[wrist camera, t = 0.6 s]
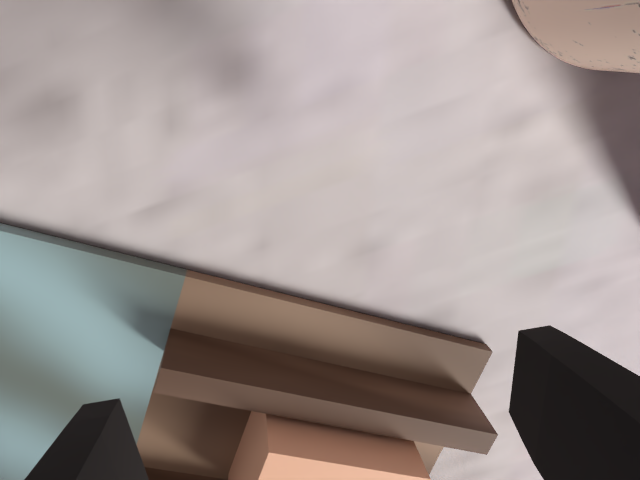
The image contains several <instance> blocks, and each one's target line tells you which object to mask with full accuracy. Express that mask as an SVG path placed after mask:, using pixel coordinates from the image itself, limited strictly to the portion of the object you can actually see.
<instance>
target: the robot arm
mask: <svg viewBox="0 0 640 480" xmlns="http://www.w3.org/2000/svg"><path fill="white" fill-rule="evenodd" d="M509 413H510V415H511V417H512V420H513V422H514V424H515V426H516V428H517V430H518V432H519V435H520V437H521V439H522V441H523V443H524V445H525V447H526V449H527V451H528V453H529V455H530V457H531V459H532V461H533V463H534V465H535V466H536V468H537V469H538V471H539V473H540V474H541V476H542V477H543V479H544V480H640V376H638V375H636V374H635V373H633V372H631V371H629V370H628V369H626V368H624V367H622V366H621V365H619V364H617V363H616V362H614V361H612V360H610V359H609V358H607V357H605V356H603V355H602V354H600V353H598V352H597V351H595V350H593V349H591V348H590V347H588V346H586V345H584V344H583V343H581V342H579V341H578V340H576V339H574V338H572V337H570V336H569V335H567V334H565V333H563V332H561V331H559V330H558V329H556V328H554V327H552V326H544V327H538V328H532V329H526V330H520V331H519V332H518V341H517V349H516V357H515V366H514V374H513V382H512V391H511V399H510V407H509ZM24 480H148V476H147V473H146V470H145V467H144V465H143V462H142V459H141V456H140V453H139V451H138V448H137V445H136V442H135V440H134V437H133V434H132V431H131V428H130V426H129V423H128V420H127V417H126V414H125V412H124V409H123V406H122V403H121V401H120V398H118V399H112V400H106V401H100V402H94V403H88V404H83V405H82V407H81V408H80V409H79V410H78V412H77V413H76V414H75V415H74V416H73V418H72V419H71V420H70V421H69V423H68V424H67V425H66V427H65V428H64V429H63V430H62V432H61V433H60V434H59V436H58V437H57V438H56V439H55V441H54V442H53V443H52V445H51V446H50V447H49V448H48V450H47V451H46V452H45V454H44V455H43V456H42V458H41V459H40V460H39V461H38V463H37V464H36V465H35V467H34V468H33V469H32V470H31V472H30V473H29V474H28V476H27V477H26V478H25V479H24Z"/></svg>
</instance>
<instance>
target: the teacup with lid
mask: <svg viewBox="0 0 640 480" xmlns="http://www.w3.org/2000/svg"><path fill="white" fill-rule="evenodd" d="M512 2H513V5H514V7H515V10H516V12H517V14H518V16H519V18H520V20H521V21H522V23H523V25H524V26H525V28H526V29H527V30H528V32H529V33H530V35H531V36H532V37H533V38H534V39H535V40H536V41H537V42H538V44H539V45H540V46H542V47H543V48H544V49H545V50H546V51H547V52H549V53H550V54H552V55H553V56H555V57H556V58H558V59H560V60H562V61H564V62H566V63H569V64H571V65H574V66H577V67H581V68H585V69H591V70H601V71H616V72H631V73H640V0H512Z"/></svg>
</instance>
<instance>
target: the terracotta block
mask: <svg viewBox="0 0 640 480" xmlns="http://www.w3.org/2000/svg"><path fill="white" fill-rule="evenodd" d="M228 480H431V479H430V477H429V474H428V472H427V470H426V468H425V465H424V463H423V461H422V459H421V456H420V454H419V452H418V450H417V447H416V445H415V443H414V441H411V440H405V439H400V438H395V437H389V436H384V435H378V434H373V433H368V432H362V431H357V430H352V429H346V428H341V427H335V426H330V425H325V424H319V423H314V422H308V421H303V420H298V419H292V418H287V417H281V416H276V415H271V414H265V413H260V412H254V411H251V413H250V416H249V419H248V422H247V424H246V427H245V430H244V432H243V435H242V438H241V441H240V443H239V446H238V449H237V452H236V454H235V457H234V460H233V463H232V465H231V468H230V471H229V474H228Z"/></svg>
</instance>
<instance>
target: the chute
mask: <svg viewBox="0 0 640 480" xmlns="http://www.w3.org/2000/svg"><path fill="white" fill-rule="evenodd" d="M491 354H492V351H491V349H490V348H489V347H488V346H487V345H486V344H483V343H479V342H475V341H471V340H467V339H463V338H459V337H455V336H451V335H447V334H443V333H439V332H435V331H431V330H427V329H423V328H419V327H415V326H411V325H407V324H403V323H399V322H395V321H391V320H387V319H383V318H379V317H375V316H371V315H367V314H363V313H359V312H355V311H351V310H347V309H343V308H339V307H335V306H331V305H327V304H323V303H319V302H315V301H311V300H307V299H303V298H299V297H295V296H291V295H287V294H283V293H279V292H275V291H271V290H267V289H263V288H259V287H255V286H251V285H247V284H243V283H239V282H235V281H231V280H227V279H223V278H219V277H215V276H211V275H207V274H203V273H199V272H195V271H191V270H187V269H183V268H179V267H175V266H171V265H167V264H163V263H159V262H155V261H151V260H147V259H143V258H139V257H135V256H131V255H127V254H123V253H119V252H115V251H111V250H107V249H103V248H99V247H95V246H91V245H87V244H83V243H79V242H75V241H71V240H67V239H63V238H59V237H55V236H51V235H47V234H43V233H39V232H35V231H31V230H27V229H23V228H19V227H15V226H11V225H7V224H3V223H0V480H24V479H25V478H26V477H27V476H28V474H29V473H30V472H31V470H32V469H33V468H34V467H35V465H36V464H37V463H38V461H39V460H40V459H41V458H42V456H43V455H44V454H45V452H46V451H47V450H48V448H49V447H50V446H51V445H52V443H53V442H54V441H55V439H56V438H57V437H58V436H59V434H60V433H61V432H62V430H63V429H64V428H65V427H66V425H67V424H68V423H69V421H70V420H71V419H72V418H73V416H74V415H75V414H76V413H77V412H78V410H79V409H80V408H81V407H82V405H83V404H88V403H94V402H100V401H106V400H112V399H118V398H120V401H121V403H122V406H123V409H124V412H125V414H126V417H127V420H128V423H129V426H130V428H131V431H132V434H133V437H134V440H135V442H136V445H137V448H138V451H139V453H140V456H141V459H142V462H143V465H144V467H145V470H146V473H147V476H148V480H228V474H229V471H230V468H231V465H232V463H233V460H234V457H235V454H236V452H237V449H238V446H239V443H240V441H241V438H242V435H243V432H244V430H245V427H246V424H247V422H248V419H249V416H250V413H251V411H254V412H260V413H265V414H271V415H276V416H281V417H287V418H292V419H298V420H303V421H308V422H314V423H319V424H325V425H330V426H335V427H341V428H346V429H352V430H357V431H362V432H368V433H373V434H378V435H384V436H389V437H395V438H400V439H405V440H411V441H414V443H415V445H416V447H417V450H418V452H419V454H420V456H421V459H422V461H423V463H424V465H425V468H426V470H427V472H428V474H430V472H431V470H432V468H433V466H434V464H435V462H436V460H437V458H438V456H439V454H440V453H441V451H442V449H443V447H449V448H454V449H459V450H465V451H470V452H476V453H481V454H486V455H487V454H488V452H489V450H490V448H491V446H492V445H493V443H494V441H495V439H496V437H497V435H498V434H497V433H496V431H495V430H494V428H493V427H492V425H491V424H490V422H489V421H488V419H487V418H486V416H485V415H484V413H483V412H482V410H481V409H480V407H479V406H478V404H477V403H476V401H475V400H474V398H473V397H472V395H471V393H472V391H473V389H474V387H475V385H476V383H477V381H478V379H479V377H480V375H481V373H482V371H483V369H484V367H485V365H486V363H487V362H488V360H489V358H490V356H491Z"/></svg>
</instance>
